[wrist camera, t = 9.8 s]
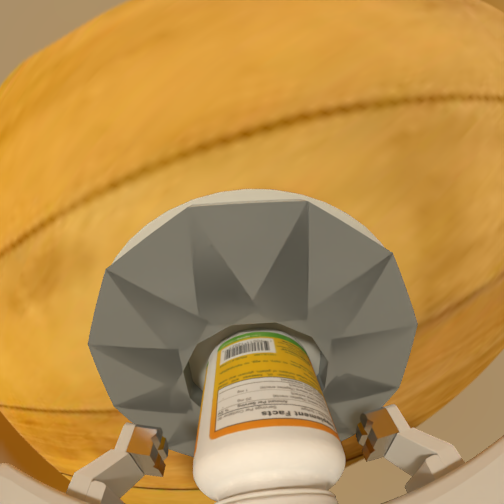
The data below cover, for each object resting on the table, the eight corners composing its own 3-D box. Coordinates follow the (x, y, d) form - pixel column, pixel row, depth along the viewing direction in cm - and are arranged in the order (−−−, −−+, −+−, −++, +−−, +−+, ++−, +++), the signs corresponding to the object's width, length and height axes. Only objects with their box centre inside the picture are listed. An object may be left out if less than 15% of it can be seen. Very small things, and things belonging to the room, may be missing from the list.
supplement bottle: (268, 411, 14) (288, 554, 5) (189, 376, 14) (158, 539, 4) (328, 352, 13) (400, 508, 4) (244, 305, 13) (254, 513, 3)
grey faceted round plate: (415, 189, 12) (440, 192, 10) (370, 427, 17) (379, 445, 15) (74, 207, 12) (50, 212, 10) (145, 441, 16) (140, 461, 14)
